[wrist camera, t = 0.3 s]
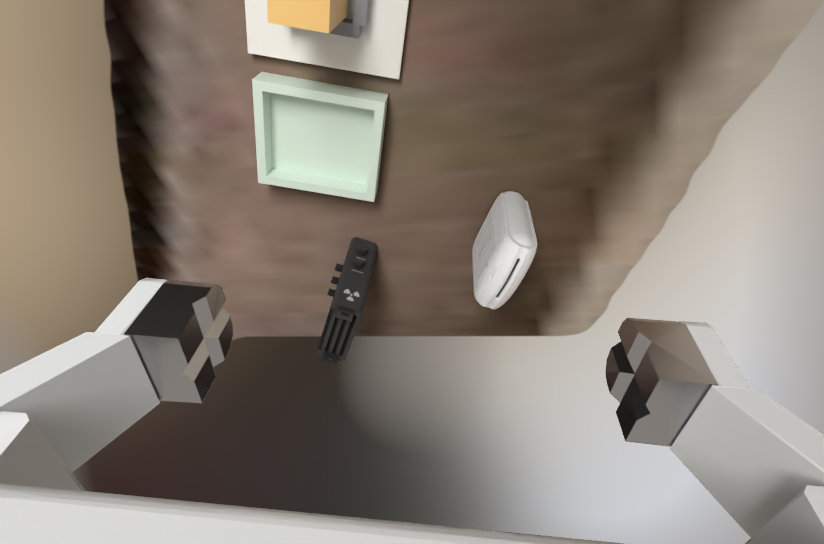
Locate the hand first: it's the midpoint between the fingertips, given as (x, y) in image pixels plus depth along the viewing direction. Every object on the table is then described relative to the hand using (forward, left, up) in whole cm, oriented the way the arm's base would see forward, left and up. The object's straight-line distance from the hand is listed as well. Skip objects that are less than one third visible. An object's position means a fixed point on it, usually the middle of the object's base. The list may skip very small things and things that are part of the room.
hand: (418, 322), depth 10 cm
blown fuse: (+1, -12, -45) cm, 46 cm away
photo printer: (+24, +11, -46) cm, 53 cm away
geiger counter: (+34, -7, -46) cm, 58 cm away
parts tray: (+16, -12, -46) cm, 50 cm away
